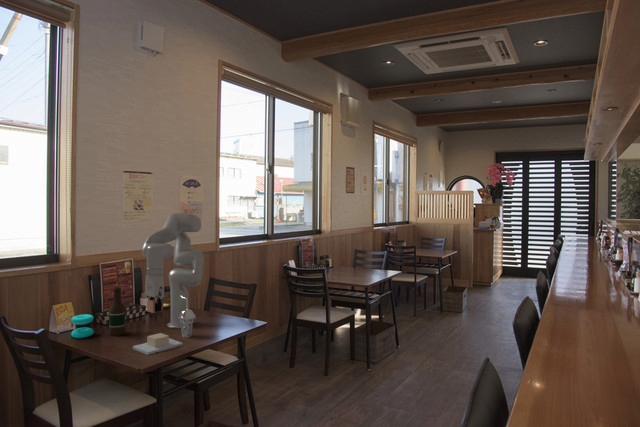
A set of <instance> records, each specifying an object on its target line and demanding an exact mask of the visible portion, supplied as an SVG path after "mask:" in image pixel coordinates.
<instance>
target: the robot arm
mask: <svg viewBox="0 0 640 427" xmlns="http://www.w3.org/2000/svg"><path fill="white" fill-rule="evenodd" d="M201 220H202V219H200V217H198V216H197V215H195V214H193V213H186V212H185V213H180V212H179V213H178V212H177V213H176V212H175V213H171V214H170V215H168V217H167V218H166V220H165V223H164V224H163V226H162V228H161V229H159V230H158V231H156V232H154V233H152V234H151V235H149V236H148V237H147V238H146V240H145V242H144V243H143V246H142V250H141V253H142V256H143V258H144V259H145V260H146V276H145V282H144V295H145V296H147V301H148V300H154V299H155V301H156V303H155V313H160V312H159V311H161V312H163V311H162V300H163V301H164V298H165V297H166V296H165V278H164V267H165V266H164V261H165V260H168V259H171V258H173V264H174V265H176V266H179V267H182V268H179V267H177V268H173V269H171V270H170V271H169V273H168V283H169V288H170V289H169V292H170V322H168V323H167V325H166V326H167V327H168V328H170V329H181V323H180V319H179V318H178V316H179V315H180V313H181V312H182V311H183V310H184V309H186V299H183V298H181V297H180V296H182V297H185V298H187V299H188V304H189V298H190V296H189V292H188V289H187V288H186V287H188V286H189V287H196V286H199V285H200V284H202V283H201V282H202V279H203V266H204V255H203V252H202V250H200V249H198V248H191V242H192V240H191V238H190V236H189V235H188V234H187V233H198V232H200V231H201V229H202V221H201ZM170 242H174V247H173V245H172V244H170ZM186 267H188V268H186ZM189 267H191V268H189ZM196 319H197V317H196V315H195V318H194V320H196Z"/></svg>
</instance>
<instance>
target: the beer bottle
mask: <svg viewBox="0 0 640 427" xmlns="http://www.w3.org/2000/svg"><path fill="white" fill-rule="evenodd" d="M112 290H113V300H112V303H111V306H110V308H109V310H108V333H109V335H110V336H112V337H114V336H115V337H118V336H123V335H125V334H126V328H127V327H126V321H127V320H126V319H127V318H126V314H127V313H126V307H125V305H124V304H123V302H122V301H123V300H122V292H121V291H122V287H120V286H116V287H114V288H112Z"/></svg>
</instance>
